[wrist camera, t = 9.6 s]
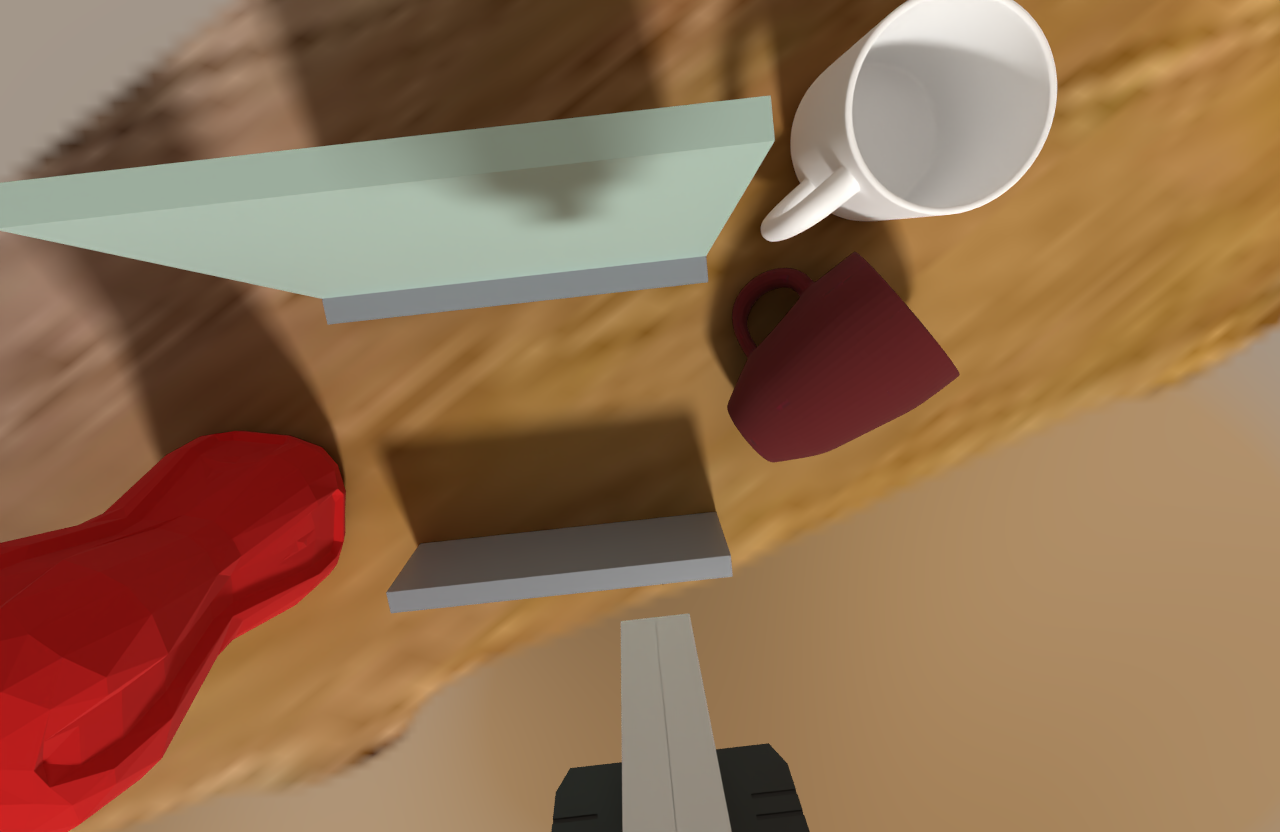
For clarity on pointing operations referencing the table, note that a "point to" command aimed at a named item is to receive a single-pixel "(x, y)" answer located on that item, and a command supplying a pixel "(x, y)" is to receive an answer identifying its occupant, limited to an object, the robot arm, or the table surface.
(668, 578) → the grey long flat pieces
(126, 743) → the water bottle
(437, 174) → the lid
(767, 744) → the robot arm
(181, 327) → the table surface
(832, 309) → the mug
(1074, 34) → the table surface
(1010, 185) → the cup
